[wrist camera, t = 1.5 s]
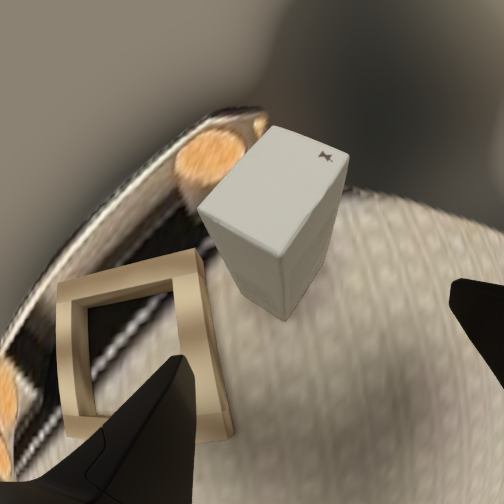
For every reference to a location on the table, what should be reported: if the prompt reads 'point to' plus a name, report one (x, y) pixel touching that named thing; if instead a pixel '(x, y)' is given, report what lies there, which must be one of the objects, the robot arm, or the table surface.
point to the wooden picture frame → (189, 329)
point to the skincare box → (277, 216)
